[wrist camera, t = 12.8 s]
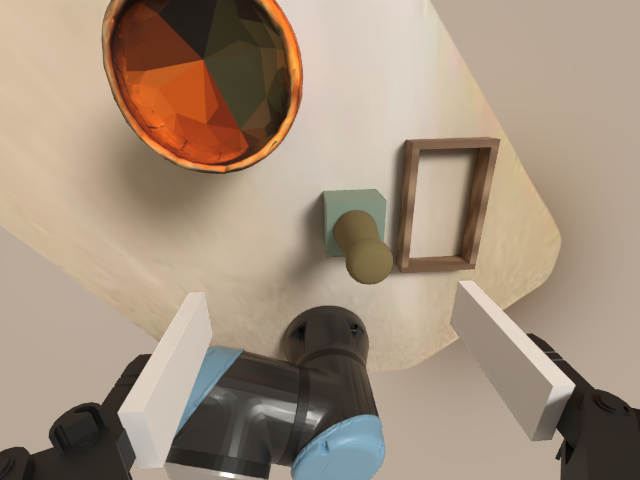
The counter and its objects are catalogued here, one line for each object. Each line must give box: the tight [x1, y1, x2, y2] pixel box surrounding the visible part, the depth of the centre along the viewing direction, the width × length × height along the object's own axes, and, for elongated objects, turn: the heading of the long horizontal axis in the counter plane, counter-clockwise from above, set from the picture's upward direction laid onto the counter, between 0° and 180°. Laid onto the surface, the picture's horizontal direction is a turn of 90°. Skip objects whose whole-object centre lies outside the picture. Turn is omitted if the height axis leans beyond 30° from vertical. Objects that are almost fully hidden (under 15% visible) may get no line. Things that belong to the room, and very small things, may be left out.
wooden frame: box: [396, 137, 500, 273], centre depth 47 cm, size 20×12×3 cm, turn 1°
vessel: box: [102, 0, 303, 174], centre depth 31 cm, size 14×14×20 cm
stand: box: [323, 189, 386, 257], centre depth 45 cm, size 8×8×6 cm
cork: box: [333, 210, 393, 285], centre depth 37 cm, size 6×6×11 cm
